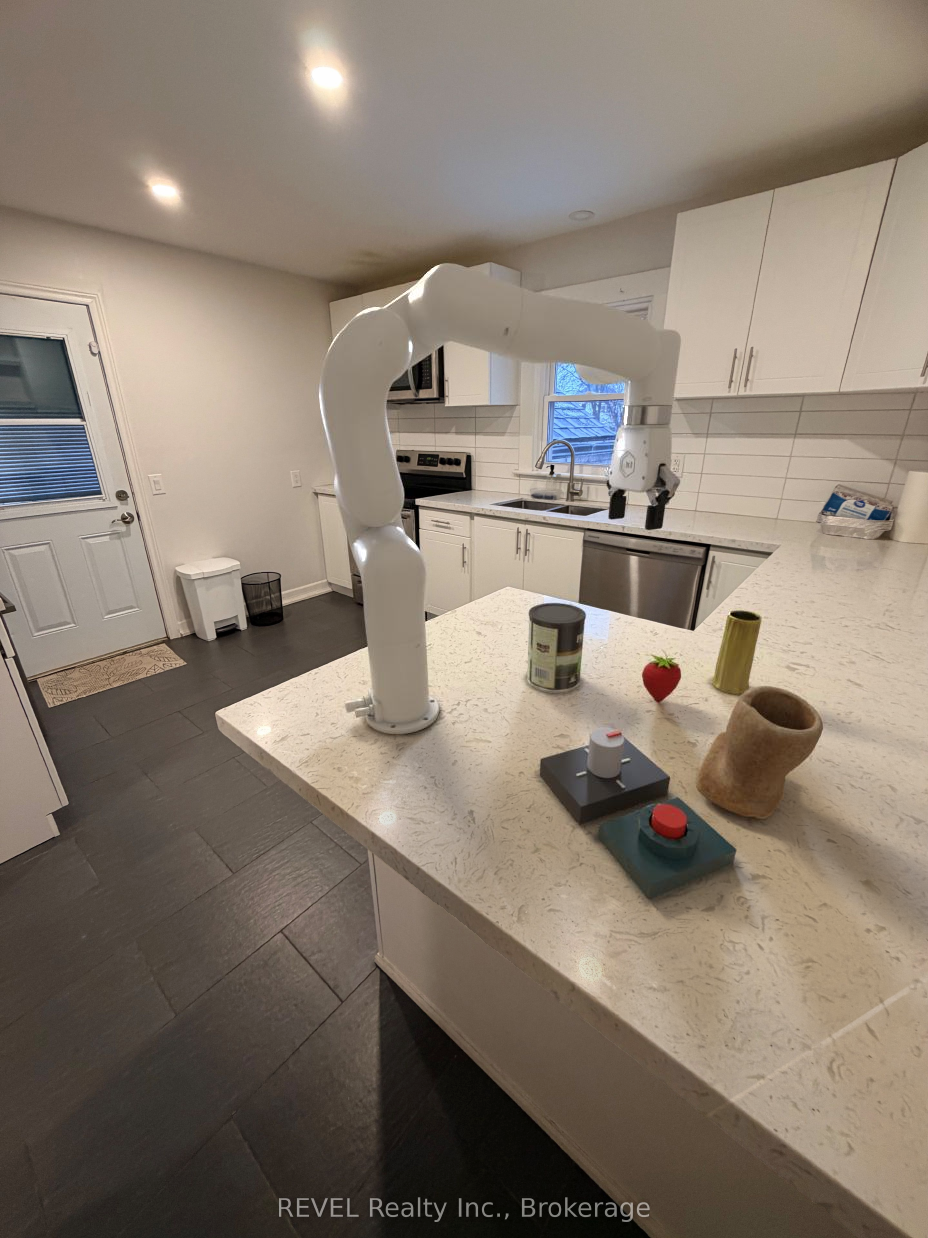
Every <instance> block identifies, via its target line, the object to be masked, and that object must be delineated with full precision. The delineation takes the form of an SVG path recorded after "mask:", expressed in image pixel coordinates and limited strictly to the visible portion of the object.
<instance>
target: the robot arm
mask: <svg viewBox="0 0 928 1238" xmlns="http://www.w3.org/2000/svg"><path fill="white" fill-rule="evenodd" d="M450 342H453V343H457V344H460V345H463V346H466V347H469V348H475V349H477V350H481V351H485V352H488V353H490V354H494V355H497V356H500V357H502V358H506V359H509V360H512V361H516V362H521V363H529V364H571V365H574V368H575V371H576V373H577V374H578V376H579V377H580V378H581V379H582V380H583V381H584V382H587V383H588V384H590V385H595V386H605V385H612V384H620V383H621V384H622V383H625V384H624V392H623V393H624V395H623V403H622V406H623V407H622V414H621V426H620V427H618V428H617V432H616V435H615V439H614V443H613V448H612V453H611V459H610V466H609V467H607V468H606V469H605V470H604V475H605V479H606V484H605V485H606V487H607V489H608V492H607V495H608V497H609V505H608V506H609V507H608V520H620V519H624V518H625V516H626V509H627V508H626V507H627V495H625V494H626V493H627V491H629V492H633V493H640V494H641V493H646V496H647V498H648V500H649V503H650V504H649V505H647V508H646V515H645V522H644V523H645V524H644V529H645V530H646V531H652V530H653V531H654V530H661V529H662V528H663V525H664V518H665V511H666V506H668V505H669V504H670V500H672V499H673V498H674V497H675V495H676V491H677V489H678V488H679V486H680V484H681V479H680V478H679V477H678V476H677V475H676V474H675V473H674V472H673V471H672V470H671V466H672V465H671V463H672V446H673V445H672V444H673V443H672V442H673V440H672V439H673V438H672V427H671V421H672V413H673V405H674V398H675V391H676V382H677V377H678V376H677V375H678V367H679V361H680V360H679V359H680V352H681V346H682V345H681V344H682V338H681V334H680V333H679V332H678V331H677V330H673V329H665V328H664V329H663V328H662V329H657V328H655V327H654V325H652V324H651V323H650V322H649V321H647V320H646V319H644V318H642V317H640V316H637V315H634V314H632V313H629V312H627V311H624V310H621V309H619V308H617V307H613V306H609V305H606V304H602V303H597V302H591V301H586V300H579V299H573V298H567V297H562V296H556V295H548V294H542V293H539V292H535V291H532V290H529V289H528V288H524V287H521V286H518V285H515V284H513V283H510V282H508V281H505V280H502V279H500V278H496V277H495V276H491V275H488V274H486V273H483V272H480V271H477V270H476V269H472V268H469V267H468V266H467V267H466V266H464V265H460V264H457V263H449V262H447V263H441V264H438V265H436V266H434V267H433V268H431V269H430V270H429V271H427V272H426V274H424V276H423V277H421V278H420V280H419V281H417V282H416V284H415V285H413V286H412V287H411V288H410V289H408V290H407V291H405V292H404V293H402V294H401V295H400V296H398V297H397V298H396V299H394V300H392V301H391V302H390V303H388V304H387V305H384V306H383V307H377V306H376V307H370V308H367V309H364V310H362V311H361V312H359V313H357V314H356V315H355V316H354V317H352V318H351V319H350V320H349V321H348V322H347V324H345V325H344V326H343V328H341V330H340V331H339V332H338V334H337V335H336V336H335V338H334V339H333V340H332V342H331V344H330V346H329V347H328V350H327V352H326V355H325V357H324V361H323V364H322V368H321V372H320V377H319V385H318V386H319V387H318V398H319V399H318V400H319V408H320V413H321V419H322V423H323V424H322V425H323V428H324V432H325V436H326V440H327V444H328V449H329V453H330V456H331V461H332V465H333V468H334V471H335V476H334V481H333V489H334V494H335V499H336V503H337V506H338V508H339V514H340V517H341V521H342V523H343V527H344V530H345V534H346V538H347V540H348V544H349V547H350V550H351V553H352V557H353V560H354V562H355V564H356V565H355V566H356V567H357V570H358V572H359V575H360V577H361V578H360V579H361V585H362V597H363V598H362V600H363V615H364V626H365V636H366V645H367V652H368V662H369V671H370V680H371V681H370V682H371V688H368V689H367V691H368V693H367V694H366V695H364V696H362V698H358V699H351V700H347V701H344V707H345V711H346V714H348V713H353V712H354V714H355V715H354V716H355V718H356V719H357V718H360V717H361V718H362V717H365V721H366V723H367V725H369V726H370V728H372V729H373V730H375V731H378V732H381V733H384V734H390V735H405V734H411V733H415V732H418V731H421V730H424V729H425V728H427V727H429V726H430V725H431V724H432V723H435V721H436V720H437V718H438V717H439V712H440V707H439V706H440V705H439V702H438V700H437V699H436V698H435V697H434V696H433V695H431V694H430V687H429V668H428V648H427V647H428V646H427V629H426V610H425V608H426V607H425V606H426V603H425V601H426V585H427V568H426V562H425V559H424V556H423V554H422V552H421V550H420V548H419V547H418V545H417V544H416V543H415V542H414V541H413V540H412V539H411V538H410V536H408V535H407V534H406V531H405V527H404V523H403V519H402V515H401V512H402V510H403V508H404V505H405V488H404V486H403V482H402V478H401V474H400V471H399V467H398V463H397V459H396V454H395V451H394V447H393V442H392V438H391V433H390V432H391V431H390V427H389V422H388V421H389V420H388V414H387V401H388V395H389V392H390V390H391V387H392V385H393V383H394V382H395V381H397V380H398V379H400V378H401V377H402V376H403V375H404V374H405V372H406V371H407V370H408V369H410V368H412V367H414V366H415V365H417V364H418V363H419V362H421V361H422V360H424V359H426V358H427V357H428V356H430V355H431V354H433V353H434V352H436V351H437V350H438V349H439V348H442V347H443V346H444V345H446V344H447V343H450Z"/></svg>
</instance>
